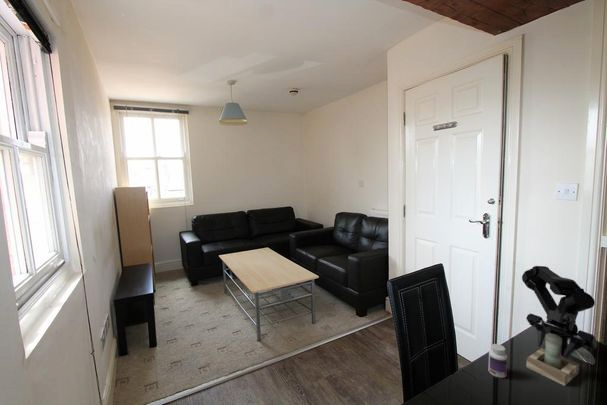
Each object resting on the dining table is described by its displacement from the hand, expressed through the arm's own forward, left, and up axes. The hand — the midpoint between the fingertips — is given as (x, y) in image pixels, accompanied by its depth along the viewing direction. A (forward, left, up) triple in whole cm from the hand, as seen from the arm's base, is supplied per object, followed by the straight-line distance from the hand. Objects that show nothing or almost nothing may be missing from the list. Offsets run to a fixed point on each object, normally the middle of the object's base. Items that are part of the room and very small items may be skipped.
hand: (551, 351), depth 103 cm
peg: (-1, 0, -8) cm, 8 cm away
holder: (-1, 0, -8) cm, 8 cm away
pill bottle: (+16, -9, -8) cm, 20 cm away
